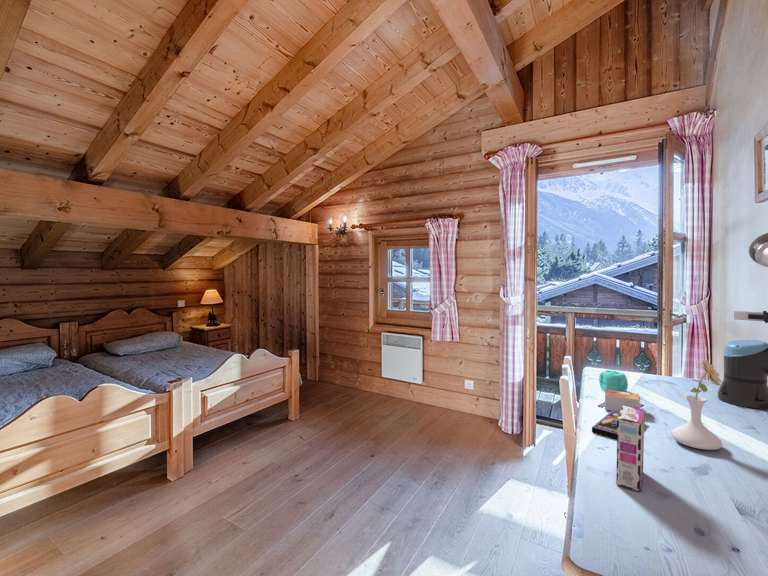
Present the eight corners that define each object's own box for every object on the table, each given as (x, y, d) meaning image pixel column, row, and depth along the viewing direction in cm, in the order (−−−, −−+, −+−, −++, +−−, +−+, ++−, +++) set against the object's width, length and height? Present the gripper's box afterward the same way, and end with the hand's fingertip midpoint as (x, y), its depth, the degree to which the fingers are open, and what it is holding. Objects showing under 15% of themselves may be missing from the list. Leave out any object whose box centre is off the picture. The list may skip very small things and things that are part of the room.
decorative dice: (606, 394, 148) (606, 375, 148) (598, 388, 156) (598, 370, 156) (628, 394, 147) (628, 375, 147) (618, 388, 155) (618, 370, 155)
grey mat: (614, 398, 143) (614, 397, 143) (643, 405, 135) (643, 404, 135) (597, 406, 135) (597, 405, 135) (627, 414, 127) (627, 413, 127)
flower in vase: (703, 456, 97) (704, 366, 96) (661, 438, 108) (661, 357, 107) (737, 449, 100) (737, 362, 100) (692, 432, 111) (693, 353, 111)
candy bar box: (641, 493, 82) (641, 423, 81) (615, 485, 85) (615, 418, 84) (644, 471, 90) (644, 408, 90) (621, 465, 94) (621, 404, 93)
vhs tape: (591, 427, 113) (611, 411, 126) (591, 434, 113) (611, 417, 126) (627, 436, 106) (644, 418, 119) (627, 444, 106) (644, 425, 119)
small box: (640, 400, 124) (604, 395, 130) (640, 415, 125) (604, 410, 130) (638, 393, 131) (605, 389, 137) (638, 408, 131) (605, 403, 137)
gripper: (853, 338, 93) (729, 328, 112) (855, 332, 100) (739, 324, 119) (853, 309, 92) (729, 305, 112) (856, 306, 100) (739, 302, 119)
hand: (734, 315), depth 116 cm, fingers closed
